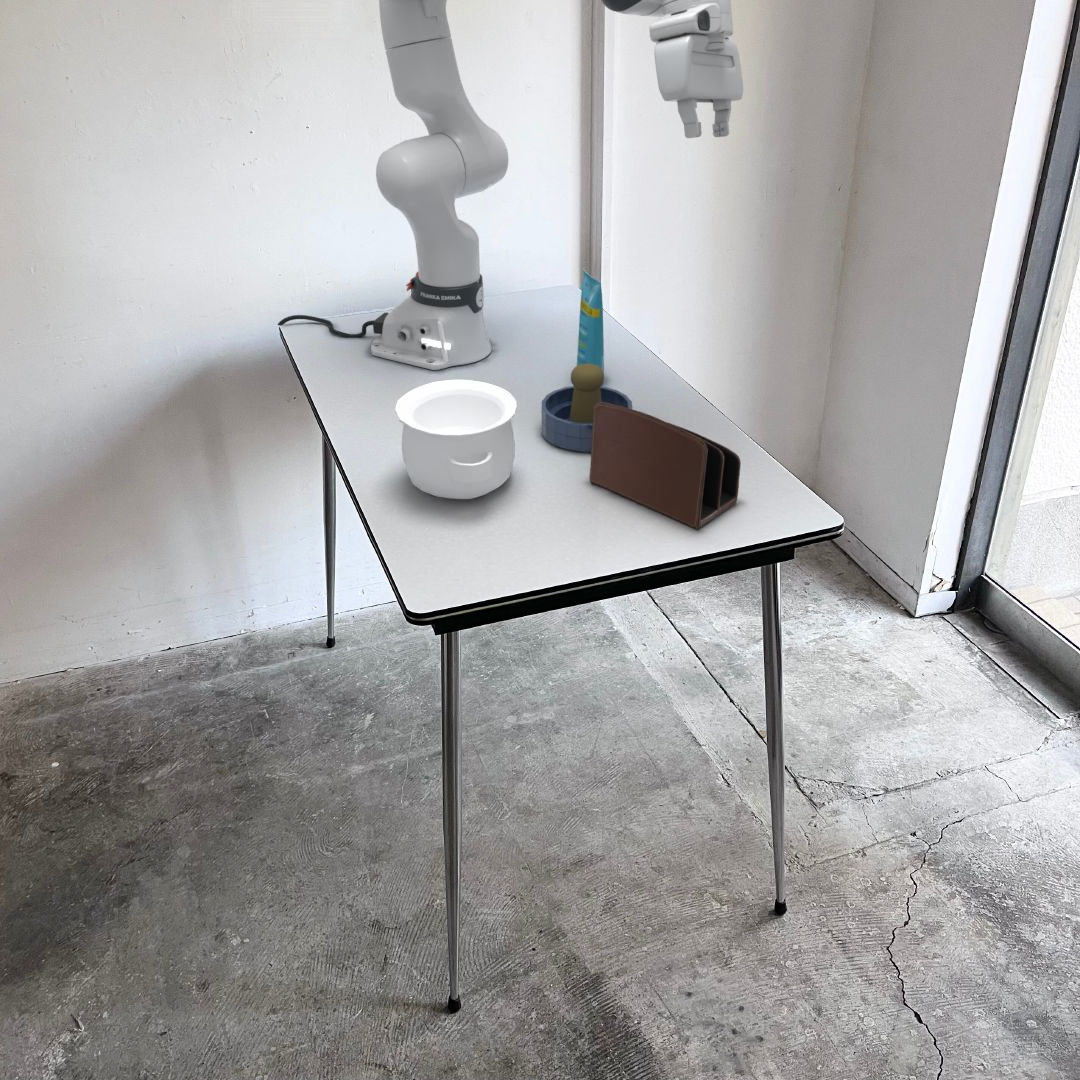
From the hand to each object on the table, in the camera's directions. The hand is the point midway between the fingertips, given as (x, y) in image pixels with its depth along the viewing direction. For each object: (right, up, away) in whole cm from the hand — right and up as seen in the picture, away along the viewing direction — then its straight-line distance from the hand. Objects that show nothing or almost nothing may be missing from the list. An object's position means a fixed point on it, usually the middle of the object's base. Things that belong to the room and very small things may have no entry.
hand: (707, 137), depth 146 cm
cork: (-15, -37, +29) cm, 49 cm away
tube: (-14, -26, +46) cm, 54 cm away
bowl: (-15, -37, +29) cm, 49 cm away
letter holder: (-5, -47, +13) cm, 49 cm away
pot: (-35, -45, +16) cm, 59 cm away
